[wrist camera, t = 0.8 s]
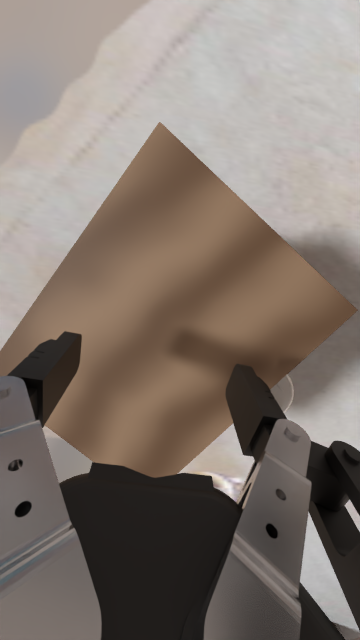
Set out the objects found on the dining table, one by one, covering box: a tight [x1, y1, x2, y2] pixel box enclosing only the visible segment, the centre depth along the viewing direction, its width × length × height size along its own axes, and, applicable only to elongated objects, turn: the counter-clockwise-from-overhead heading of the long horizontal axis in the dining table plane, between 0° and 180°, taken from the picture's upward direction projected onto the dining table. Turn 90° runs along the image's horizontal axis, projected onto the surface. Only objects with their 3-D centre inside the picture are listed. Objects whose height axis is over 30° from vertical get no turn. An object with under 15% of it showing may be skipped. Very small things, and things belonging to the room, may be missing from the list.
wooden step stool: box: [0, 122, 358, 478], centre depth 25 cm, size 16×21×20 cm
